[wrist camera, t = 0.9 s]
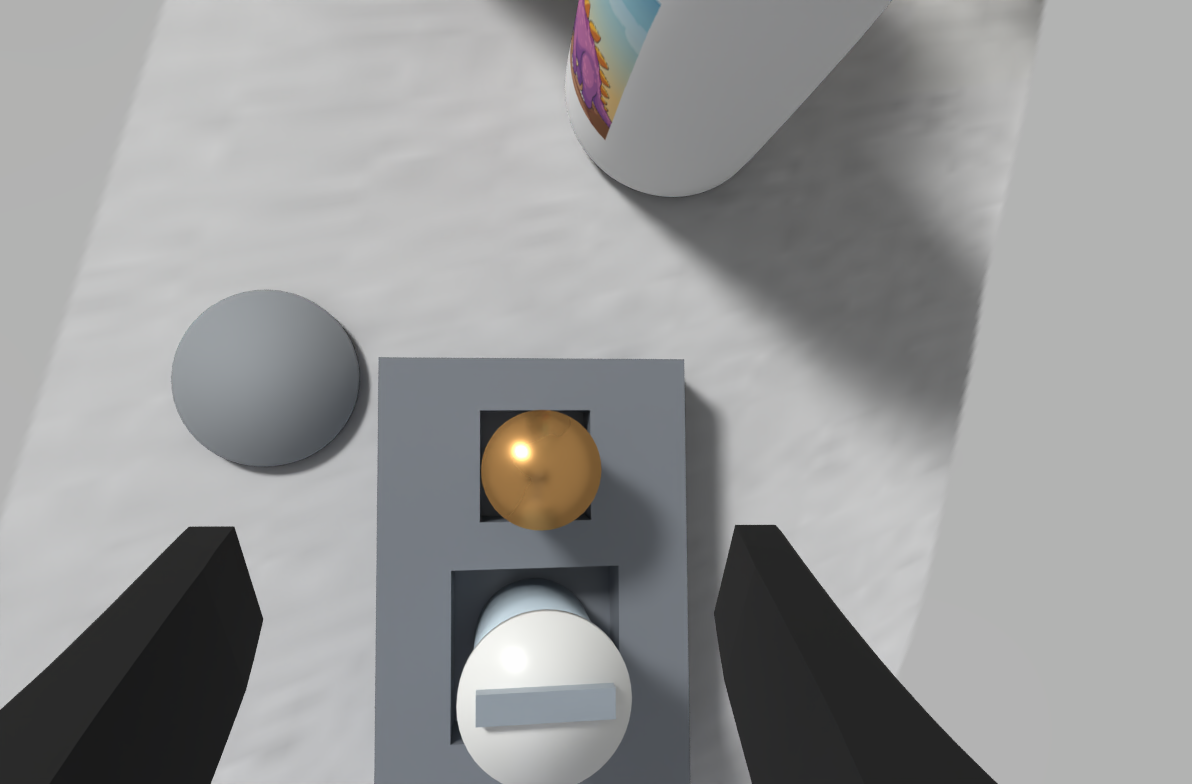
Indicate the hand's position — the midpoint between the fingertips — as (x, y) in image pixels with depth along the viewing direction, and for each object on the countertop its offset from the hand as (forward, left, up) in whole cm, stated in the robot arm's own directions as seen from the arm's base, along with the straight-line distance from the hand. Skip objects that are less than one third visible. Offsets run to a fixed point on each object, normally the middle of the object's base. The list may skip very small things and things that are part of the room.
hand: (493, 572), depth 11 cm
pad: (+4, +8, -15) cm, 18 cm away
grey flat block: (-2, -1, -15) cm, 16 cm away
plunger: (+1, -1, -13) cm, 13 cm away
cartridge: (-5, -1, -15) cm, 16 cm away
